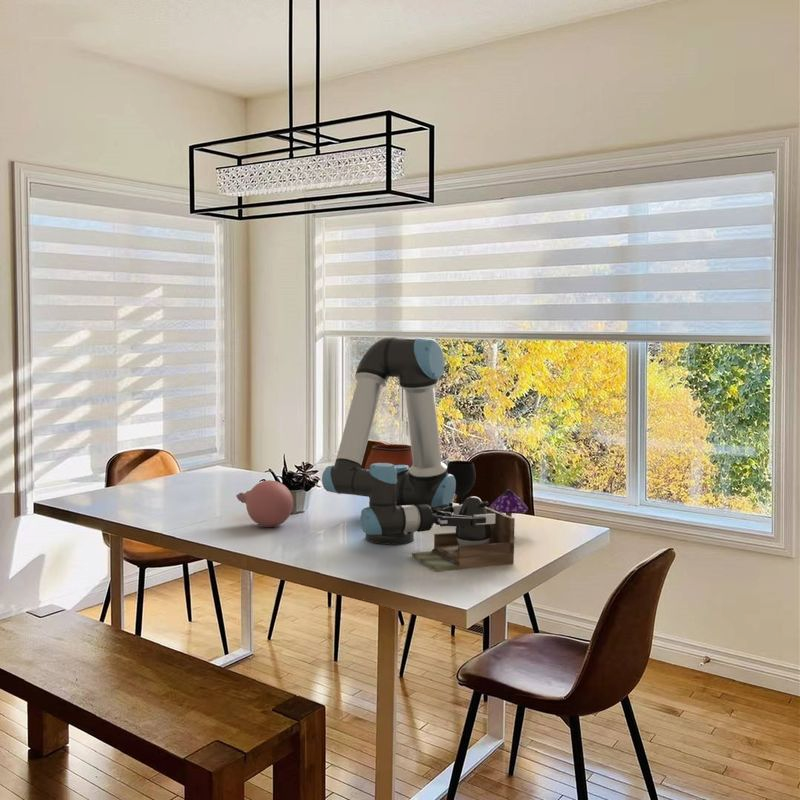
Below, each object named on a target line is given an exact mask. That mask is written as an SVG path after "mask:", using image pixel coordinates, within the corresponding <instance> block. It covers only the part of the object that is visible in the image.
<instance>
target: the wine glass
mask: <svg viewBox="0 0 800 800" xmlns="http://www.w3.org/2000/svg"><path fill="white" fill-rule="evenodd" d="M446 466H447V474H451V475H453V476H454V478H455V481H456V489H455V495H456V496H457V498H458V505H462V504H463V497H464V496H466V494H468V493H469V492H470V491H471V490H472V489H473V487H474V486H475V483H476V477H477V475H476V474H477V473H476V467H475V464H474V462H473V461H467V460H451V461H448V463H447V465H446Z"/></svg>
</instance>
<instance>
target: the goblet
mask: <svg viewBox="0 0 800 800" xmlns="http://www.w3.org/2000/svg"><path fill="white" fill-rule="evenodd" d="M371 446H372V447H371V450H370V453H369V455H368V457H367V460H366V463H365V466H364V469H370V465H371V464H374V463H390V464H393V465H408V466H409V468H410V467H411V466H412V465H413V459H412V450H411V445H408V444H400V443H399V444H396V443H394V444H392V443H391V444H376V445H371Z"/></svg>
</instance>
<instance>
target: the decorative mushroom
mask: <svg viewBox="0 0 800 800" xmlns="http://www.w3.org/2000/svg"><path fill="white" fill-rule="evenodd" d="M489 508H490V509H493V510H495V511H498V512H500V513H503V514H505V515H508V516H510V517H513V515H514V514H522V513H526V512H528V511H529V507H528V506H527V505H526V504H525V503H524V502H523V501H522V499H521V498H520V497H519V496H518V495H517V494H516V493H515V492H514V491H513V490H512V489H506V490H505V492H504V493H502V494H501V495H500V496H498V497H497V498H496V499H495V500H494V501H493V502H492V503H491V504H490V505H489ZM512 514H513V515H512Z"/></svg>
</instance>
